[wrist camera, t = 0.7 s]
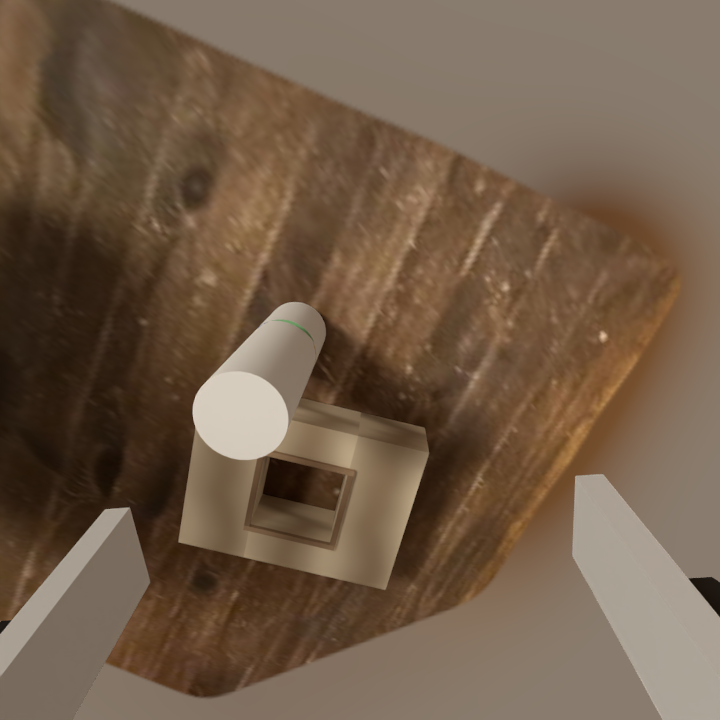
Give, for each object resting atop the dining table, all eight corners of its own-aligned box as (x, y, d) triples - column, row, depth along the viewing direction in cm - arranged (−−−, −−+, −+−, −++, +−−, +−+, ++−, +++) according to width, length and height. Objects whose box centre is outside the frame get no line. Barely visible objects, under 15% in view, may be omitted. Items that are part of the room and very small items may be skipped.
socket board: (196, 510, 42) (177, 544, 38) (218, 377, 38) (198, 399, 34) (385, 554, 42) (385, 592, 38) (424, 427, 39) (429, 454, 35)
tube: (333, 350, 37) (301, 446, 23) (279, 366, 38) (214, 470, 23) (314, 294, 36) (268, 359, 22) (258, 311, 36) (177, 386, 22)
